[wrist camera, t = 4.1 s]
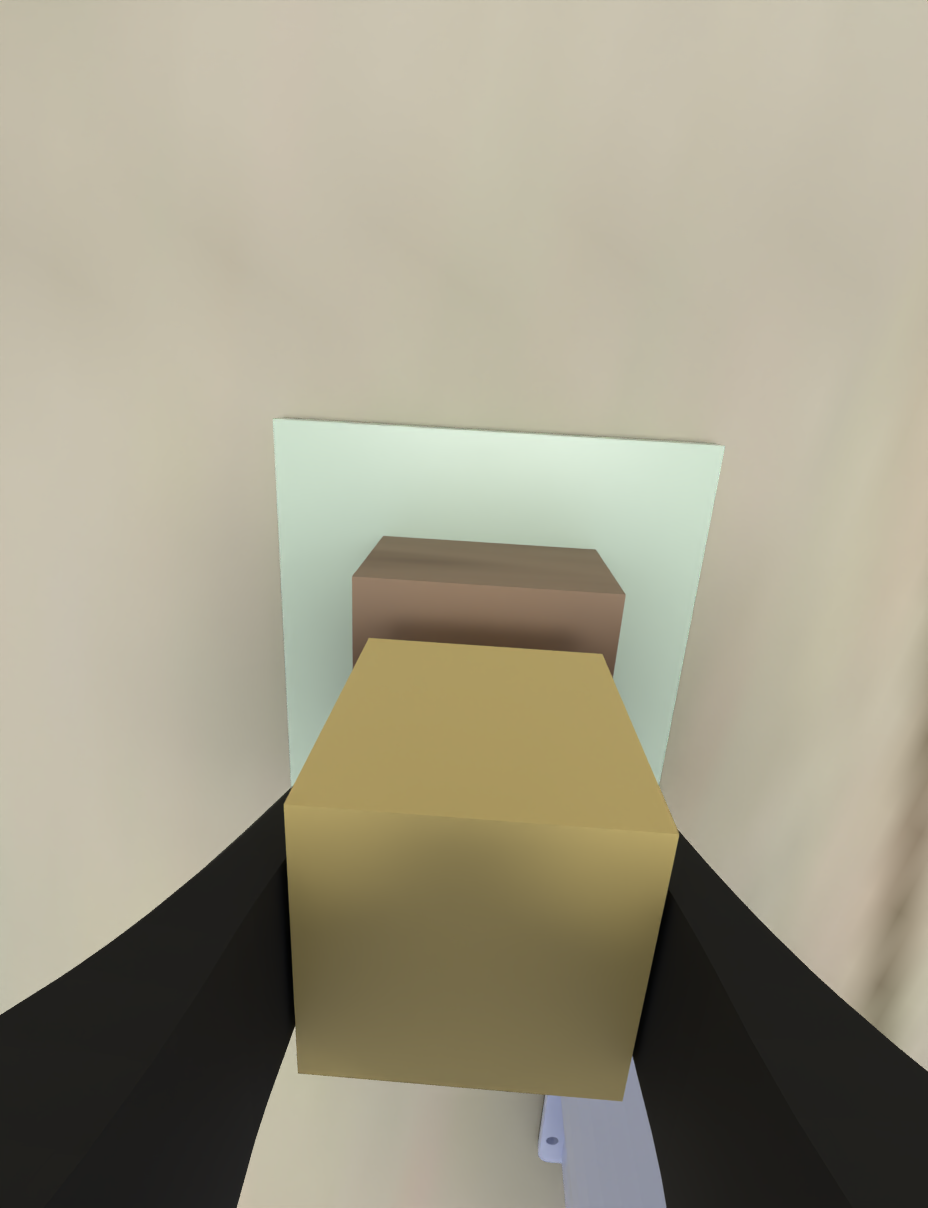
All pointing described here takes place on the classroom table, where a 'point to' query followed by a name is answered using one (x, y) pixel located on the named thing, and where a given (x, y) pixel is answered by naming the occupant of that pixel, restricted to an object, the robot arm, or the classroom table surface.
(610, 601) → the base block
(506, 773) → the brick
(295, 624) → the build plate
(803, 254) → the classroom table surface
